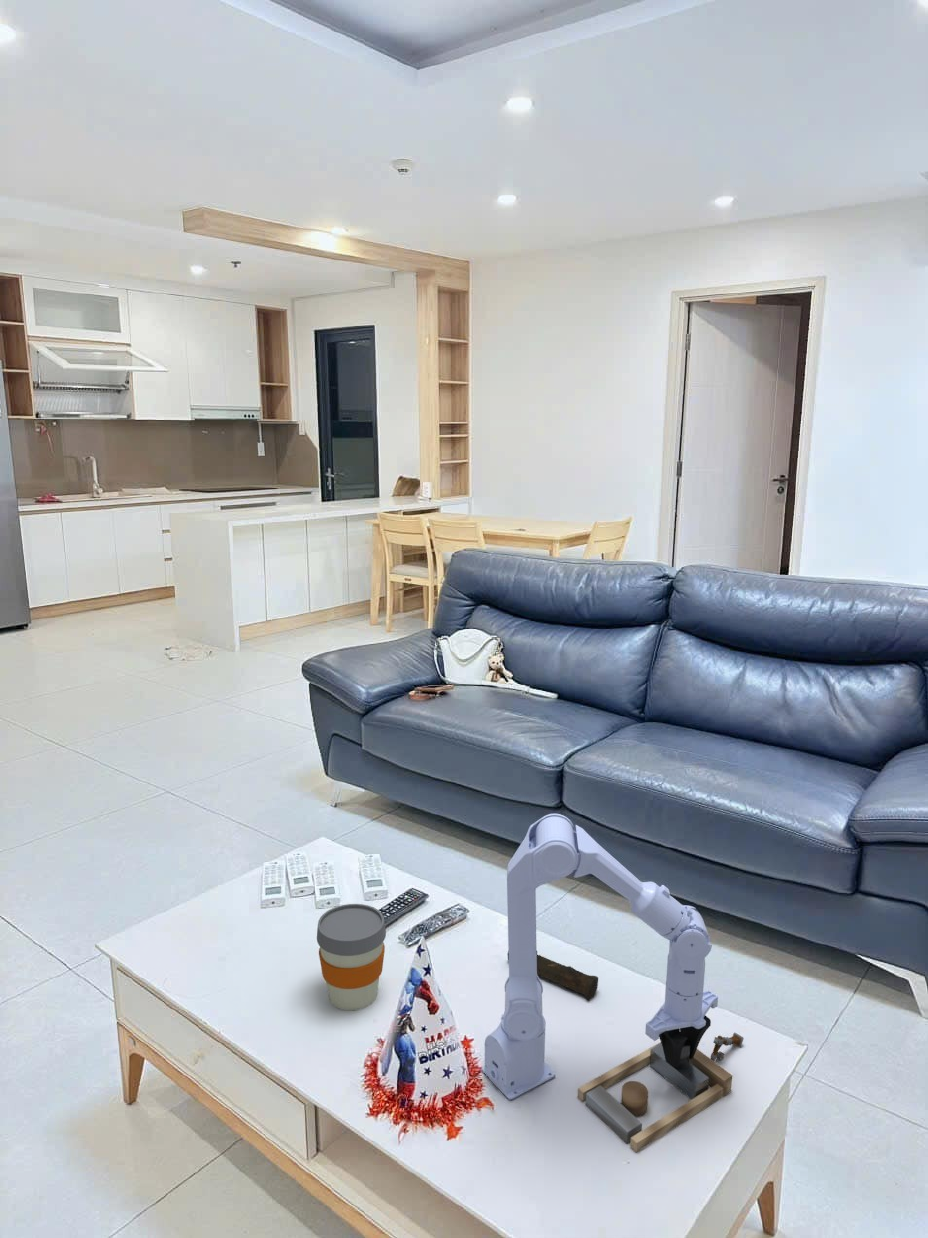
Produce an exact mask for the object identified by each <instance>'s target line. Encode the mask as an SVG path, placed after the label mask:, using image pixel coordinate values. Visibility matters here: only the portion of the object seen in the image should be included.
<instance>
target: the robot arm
mask: <svg viewBox="0 0 928 1238" xmlns="http://www.w3.org/2000/svg"><path fill="white" fill-rule="evenodd" d="M571 874H573V878H575V879H576V878H577V879H578V878H581V877H584V876H586V875H593V876H594V877H596V879H599V880H600V881H601V882H602V883H604V884H605V885H607V886H608V887H610V888H611V889H613V890H614V891H615V892H617V893H618V894H619V895H621V896H622V897H624V898H625V899H627V900H628V901H629V909H630V911H631V913H632V914H633V915H635V917H638V919H640V920H641V921H642V923H644V924H646V925H647V926H648V927H649V928H651V929H652V930H654V931H655V932H656V933H657V934H659V936H661V937H662V938H664V939H666V940H668V941H669V945H668V954H667V963H666V975H665V976H666V980H665V995H664V1003H663V1004H662V1005H661V1006H660V1008H659V1009H658V1011H657V1012H655V1015H653V1017H652V1018H651V1019H650V1020H649V1021H648V1022H646V1023H645V1035H646V1036H647V1037H648V1038H650V1039H651V1040H653V1041H654V1042H655V1041H658V1040H660V1042H661V1043H662V1047H663V1051H664V1055H665V1060H666V1062H667V1063H668V1064H669V1065H671V1066H672V1067H673V1068H677V1067H678V1065H679V1062H680V1056H681V1051H682V1047H683V1045H684V1043H685V1041H686V1040H689V1042H690V1056H689V1059H692V1058H693V1057H694V1055H695V1052H696V1050H697V1049H698V1047H699V1045H700V1042H701V1040H702V1038H703V1036H704V1034H705V1033H706V1032H707V1030H708V1029H709V1028H710V1027H711V1025H712V1024H711V1023H712V1022H711V1021H712V1020H711V1019H710V1017H708V1016H707V1013H708V1012H709V1010H710V1008H711V1009H716V1008H718V1002H719V995H717V994H715V993H713V991H711V990H709V989H708V990H706V991H704V986H705V985H704V984H705V974H706V973H705V972H706V971H705V970H706V957H707V956H708V955H709V954H710V953H711V951H712V944H711V939H710V935H709V933H708V929H707V926H706V924H705V922H704V919H703V917H702V915H701V914H700V912H699V911H698V910H697V909H696V907H694V906H692V905H684V904H682V903H680V901H678V900H676V898H674V897H673V896H671V895H670V894H671V893H670V890H669V887H667V886H665V885H664V884H661V886H659V885H658V884H657V883H655V882H654V881H644V882H643V881H642V880H639V878H637V876H635V875H634V874H633V873H632V872H631V871H630V870H628V869H627V868H626V867H625V866H624V864H623V865H622V863H621V862H619V861H618V860H617V859H616V858H614V856H612V854H610V853H609V852H608V851H607V850H606V849H604V847H602V846H601V845H600V844H599V843H598V842H597V841H596V840H595V839H594V837H592V836H591V835H590V834H589V833H587V831H585V829H584V828H583V827H581V826H579V825H577V824H575V825H574V824H573V822H572V820H571V819H569V818H568V817H567V816H565V815H563V814H559V813H549V814H546V815H544V816H542V817H541V818H539V819H538V820H537V821H534V823H531V824H530V826H529V827H528V830H527V831H526V835H525V836H524V839H523V841H522V842H521V843H520V845H519V846H518V847H517V849H516V851H515V853H514V854H513V856H512V857H511V858H510V861H509V862H508V864H507V869H506V895H507V896H506V897H507V899H506V901H507V935H508V936H507V937H508V939H507V943H508V945H507V946H508V950H509V961H508V977H507V978H506V980H505V983H504V1011H503V1014H501V1017H500V1023H499V1025H498V1026H497V1027H496V1028H495V1029H494V1031H492V1032H491V1033H489V1034H488V1035H487V1036H486V1038H485V1040H484V1065H483V1066H481V1071H482V1070H483V1071H482V1073H483V1074H484V1073H485V1074H486V1075H485V1074H484V1075H485V1076H486V1077H487V1076H488V1077H489V1078H488V1077H487V1078H488V1079H489V1080H490V1081H491V1083H493V1084H494V1085H495V1086H496V1088H498V1089H499V1091H500V1092H501V1093H502V1094H503V1095H504V1096H505V1097H506V1099H508V1100H513V1099H515V1098H518V1097H519V1096H521V1095H523V1094H525V1093H526V1092H528V1091H530V1090H532V1089H534V1088H537V1086H539V1085H542V1084H543V1083H545V1082H547V1081H549V1080H551V1079H553V1078H554V1077H556V1072H555V1071H554V1070H553V1069H552V1068H551V1067H550V1066H549V1065H548V1064H547V1063H546V1062H545V1057H546V1055H545V1052H546V1019H545V1017H544V1015H543V991H544V987H543V983H542V981H541V979H540V978H539V975H538V974H537V955H538V950H537V903H536V902H537V901H536V900H537V895H536V893H537V892H536V890H537V888H539V887H540V886H543V885H546V884H549V883H551V882H555V881H557V880H561V879H563V878H565V877H568V876H569V875H571ZM536 950H537V951H536Z"/></svg>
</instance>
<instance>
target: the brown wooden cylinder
mask: <svg viewBox="0 0 928 1238" xmlns="http://www.w3.org/2000/svg"><path fill="white" fill-rule="evenodd" d="M620 1098H621V1099H620V1100H621V1101H620V1102H621V1103H620V1104H621V1105H623V1106H624V1107H625V1108H626V1109H627V1110H628V1111H629V1112H630V1113H631V1114H632V1115H634V1116H635V1117H636V1118H637V1117H643V1116H644V1115H645V1114H647V1112H648V1104H649V1102H648V1101H649V1089H648V1088H647V1086H646V1085H645V1084H643V1082H640V1081H636V1080H629V1081H626V1082H624V1083H623V1085H622V1086H621V1097H620Z"/></svg>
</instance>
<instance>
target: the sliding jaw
mask: <svg viewBox="0 0 928 1238" xmlns="http://www.w3.org/2000/svg"><path fill="white" fill-rule="evenodd" d="M689 1056H690V1042H689V1040H686V1041H685V1043H684V1045H683V1047H682V1051H681V1056H680V1062H679V1065H678V1067H677V1068H673V1067H672V1066H671V1065H669V1064H668V1063H667V1062H666V1060H665V1055H664V1051H663V1047H662V1043H661V1044H659V1045H658V1046H656V1047H654V1048H652V1049H651V1052H650V1064H649V1066H651V1068H653V1069H654V1070H655V1071H656V1072H658V1073H659V1074H660V1075H661V1076H662V1077H664V1078H665V1079H666V1080H667V1081H669V1082H670V1083H671V1084H672V1085H673V1086H674V1087H676V1088H677V1089H678V1090H680V1091H681V1092H682V1093H683V1094H685V1096H686V1097H687V1098H689V1099H690V1100H692V1099H694V1098H695V1097H697V1096H698V1095H700V1094H702V1093H703V1092H705V1091H706V1090H708V1089H709V1086H708V1084H709V1077H707V1076H706V1075H705V1074H704V1073H702V1072H701V1071H700V1070H698V1069H697V1068H696V1067H695V1066H693V1065H692V1064H691V1063H689Z"/></svg>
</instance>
